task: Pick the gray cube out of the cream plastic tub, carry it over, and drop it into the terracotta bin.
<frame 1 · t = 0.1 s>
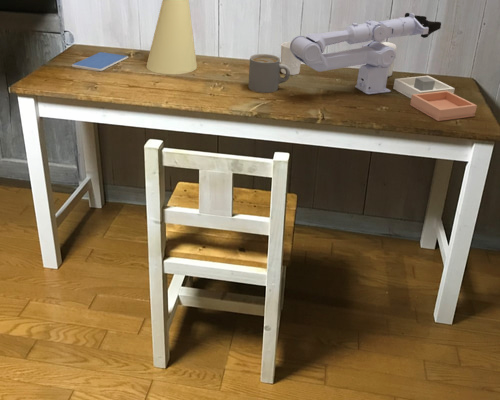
hand: (432, 22, 189), 22 cm above the table, tool horizontal, fingers open, 7 cm apart
gray cube: (422, 90, 191), point 1 cm above the table, touching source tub
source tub: (422, 93, 192), on the table
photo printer: (379, 77, 206), on the table
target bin: (441, 110, 178), on the table
blue notebook: (101, 63, 207), on the table
coffee mug: (268, 88, 190), on the table
white cup: (289, 72, 206), on the table
cone light: (173, 64, 208), on the table
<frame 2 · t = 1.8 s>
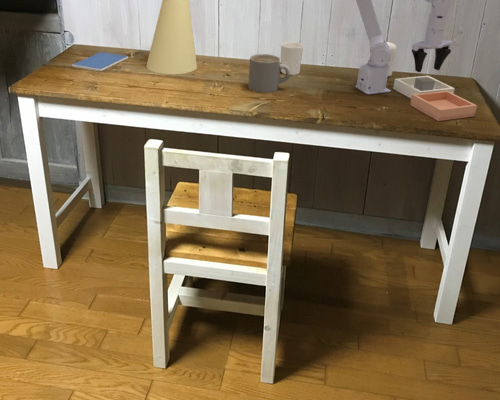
hand: (427, 70, 188), 8 cm above the table, tool pointing down, fingers open, 7 cm apart
nothing on the table moved.
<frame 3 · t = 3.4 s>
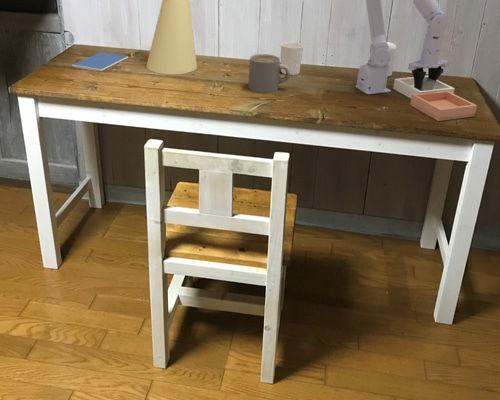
hand: (423, 89, 191), 2 cm above the table, tool pointing down, fingers closed on gray cube, 4 cm apart
gray cube: (422, 90, 191), point 1 cm above the table, touching gripper, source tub
everything else where it was.
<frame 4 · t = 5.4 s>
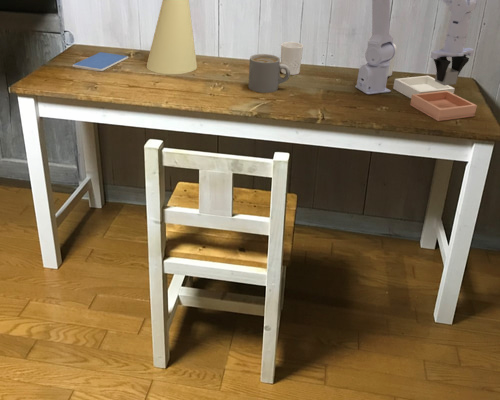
hand: (446, 79, 175), 9 cm above the table, tool pointing down, fingers closed on gray cube, 4 cm apart
gray cube: (445, 82, 176), point 9 cm above the table, touching gripper
everything else where it was.
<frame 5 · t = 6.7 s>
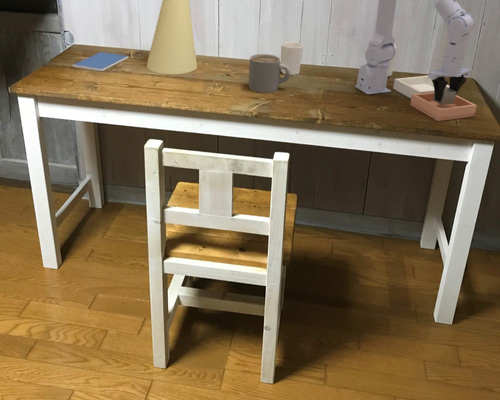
hand: (444, 99, 177), 4 cm above the table, tool pointing down, fingers closed on gray cube, 4 cm apart
gray cube: (442, 102, 177), point 3 cm above the table, touching gripper
everything else where it was.
when the fingers open (4 cm above the table, at t = 7.5 s): gray cube drops 2 cm, resting on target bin.
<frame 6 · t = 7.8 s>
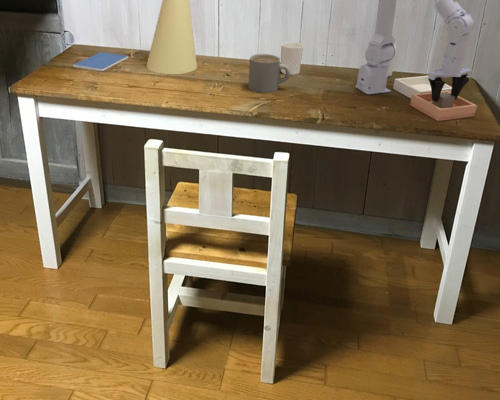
hand: (444, 99, 177), 4 cm above the table, tool pointing down, fingers open, 7 cm apart
gray cube: (441, 107, 178), point 1 cm above the table, touching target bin
everything else where it was.
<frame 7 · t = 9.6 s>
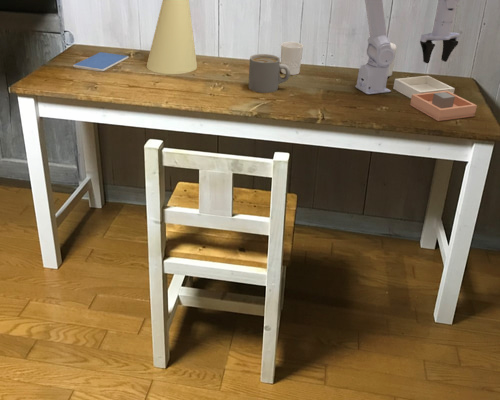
hand: (435, 61, 192), 9 cm above the table, tool pointing down, fingers open, 7 cm apart
nothing on the table moved.
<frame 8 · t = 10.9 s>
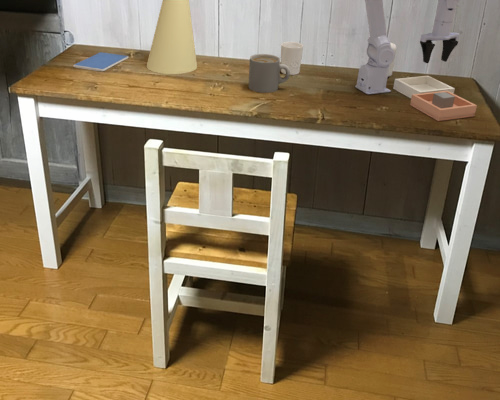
hand: (434, 61, 192), 9 cm above the table, tool pointing down, fingers open, 7 cm apart
nothing on the table moved.
at the end: gray cube inside the target area on the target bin (0.3 cm from its centre), point 1.0 cm above the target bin's base; the gripper is holding nothing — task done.
